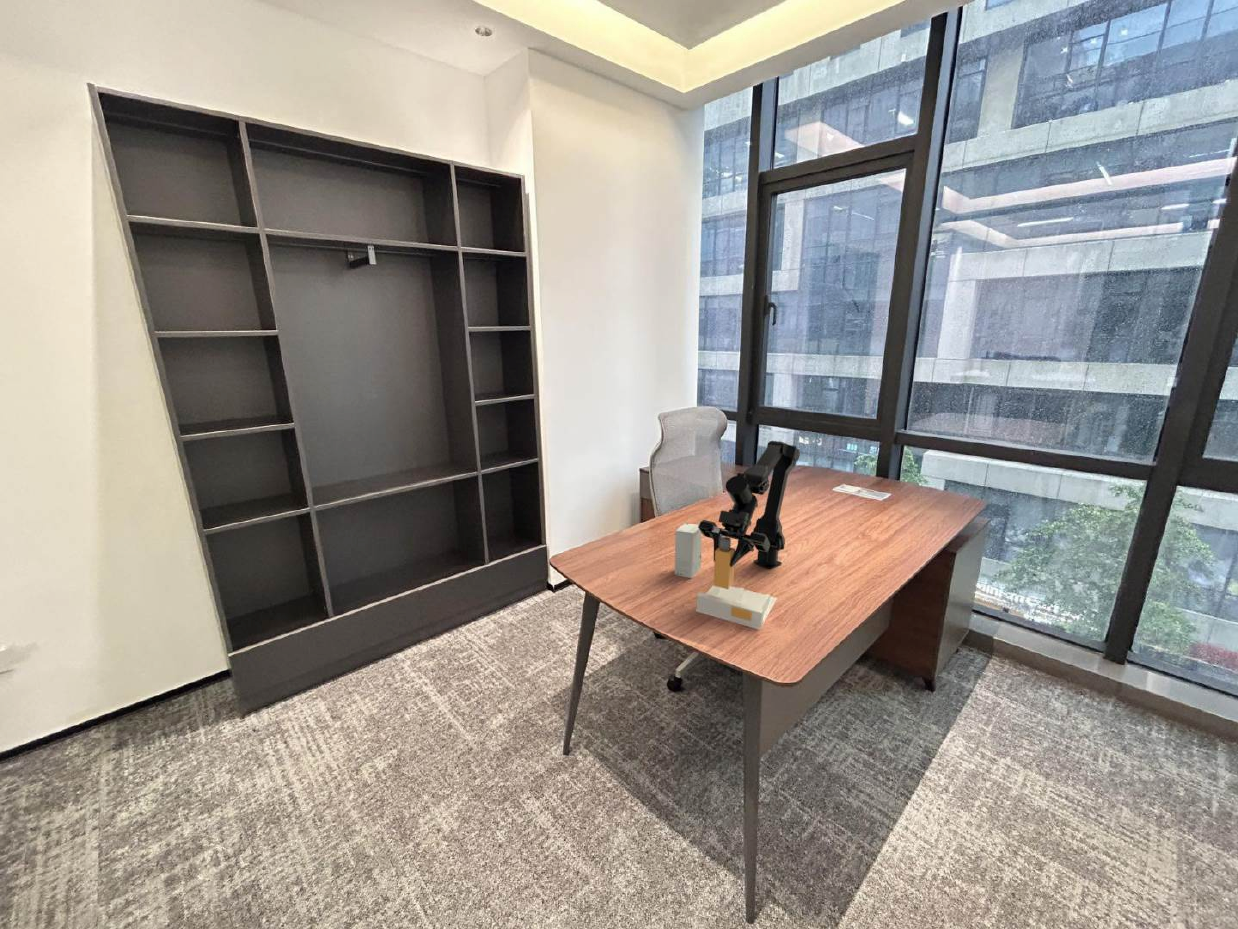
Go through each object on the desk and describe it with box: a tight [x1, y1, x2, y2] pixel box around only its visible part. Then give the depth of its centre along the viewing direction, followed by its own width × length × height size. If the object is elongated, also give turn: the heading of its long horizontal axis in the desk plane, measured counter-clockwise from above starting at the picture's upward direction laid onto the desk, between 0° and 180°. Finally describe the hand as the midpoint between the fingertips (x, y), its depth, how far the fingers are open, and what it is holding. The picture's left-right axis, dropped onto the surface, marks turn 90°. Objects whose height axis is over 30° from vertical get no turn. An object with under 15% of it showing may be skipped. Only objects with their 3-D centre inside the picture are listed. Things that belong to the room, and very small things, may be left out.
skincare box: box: [674, 522, 703, 579], centre depth 153 cm, size 8×6×15 cm
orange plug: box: [713, 536, 736, 589], centre depth 132 cm, size 4×4×13 cm
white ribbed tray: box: [695, 584, 778, 630], centre depth 135 cm, size 18×17×5 cm
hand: (722, 564), depth 131 cm, fingers closed on orange plug, 4 cm apart
